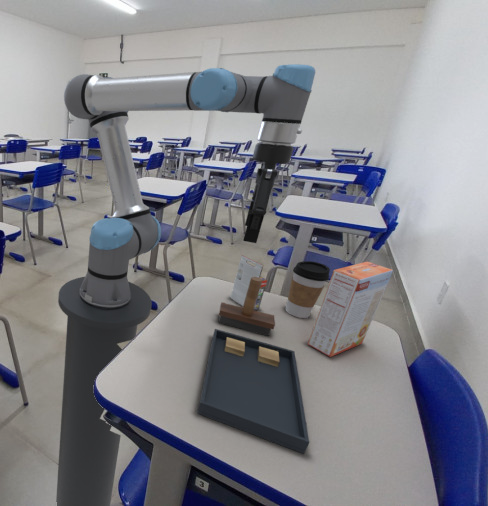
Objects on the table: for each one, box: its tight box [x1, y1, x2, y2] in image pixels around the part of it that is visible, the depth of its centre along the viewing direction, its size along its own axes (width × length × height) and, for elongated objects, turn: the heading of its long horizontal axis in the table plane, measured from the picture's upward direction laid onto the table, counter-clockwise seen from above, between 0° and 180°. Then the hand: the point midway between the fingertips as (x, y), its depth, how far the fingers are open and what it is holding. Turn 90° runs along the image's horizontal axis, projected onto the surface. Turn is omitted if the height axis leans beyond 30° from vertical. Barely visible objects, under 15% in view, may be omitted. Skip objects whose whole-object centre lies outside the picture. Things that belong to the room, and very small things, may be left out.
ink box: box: [230, 254, 268, 311], centre depth 103 cm, size 4×8×15 cm, turn 21°
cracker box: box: [307, 261, 394, 358], centre depth 85 cm, size 14×6×21 cm, turn 115°
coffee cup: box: [285, 260, 331, 319], centre depth 100 cm, size 8×8×15 cm
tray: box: [197, 328, 310, 455], centre depth 73 cm, size 27×17×3 cm, turn 153°
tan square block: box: [225, 337, 245, 357], centre depth 83 cm, size 4×4×2 cm
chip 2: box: [258, 346, 280, 367], centre depth 80 cm, size 4×4×2 cm
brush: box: [218, 277, 276, 337], centre depth 92 cm, size 5×13×14 cm, turn 64°
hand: (250, 233), depth 87 cm, fingers open, 13 cm apart
